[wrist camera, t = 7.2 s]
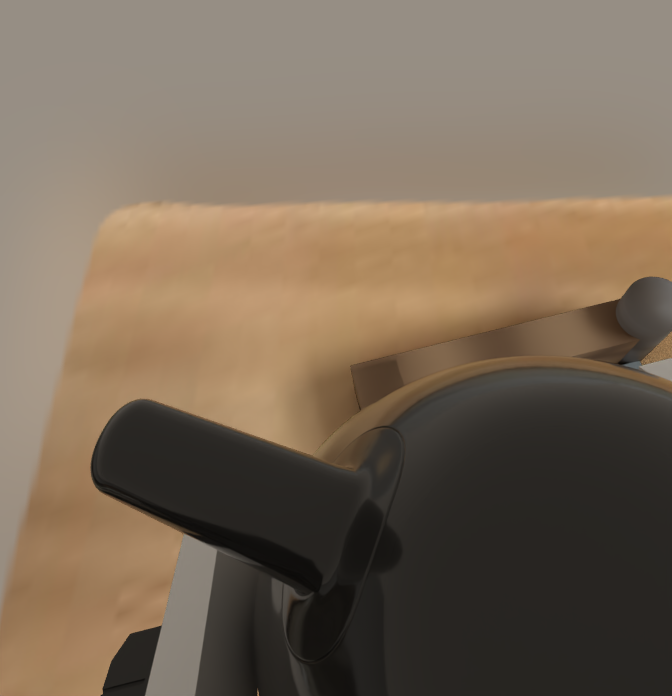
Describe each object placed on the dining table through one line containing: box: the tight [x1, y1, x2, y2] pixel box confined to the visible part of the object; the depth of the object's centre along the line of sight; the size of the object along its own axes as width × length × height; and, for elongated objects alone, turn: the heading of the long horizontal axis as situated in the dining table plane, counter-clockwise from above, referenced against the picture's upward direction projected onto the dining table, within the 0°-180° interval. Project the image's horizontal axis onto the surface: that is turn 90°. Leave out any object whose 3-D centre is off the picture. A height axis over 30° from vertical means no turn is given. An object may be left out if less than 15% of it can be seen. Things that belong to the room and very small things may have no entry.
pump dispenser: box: [91, 355, 672, 696], centre depth 11 cm, size 10×10×15 cm
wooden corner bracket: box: [350, 277, 672, 411], centre depth 29 cm, size 18×21×5 cm
